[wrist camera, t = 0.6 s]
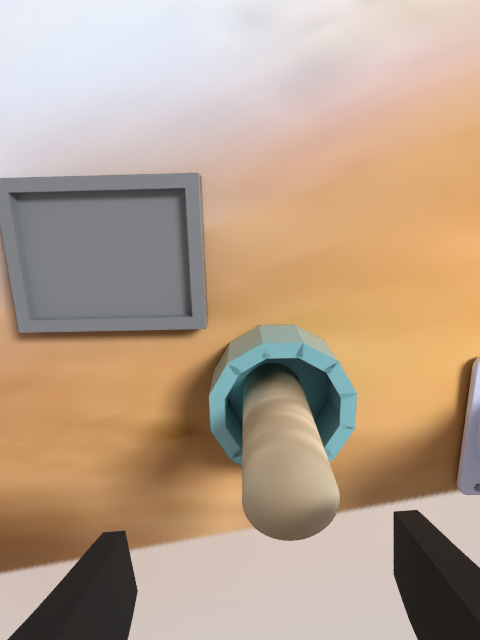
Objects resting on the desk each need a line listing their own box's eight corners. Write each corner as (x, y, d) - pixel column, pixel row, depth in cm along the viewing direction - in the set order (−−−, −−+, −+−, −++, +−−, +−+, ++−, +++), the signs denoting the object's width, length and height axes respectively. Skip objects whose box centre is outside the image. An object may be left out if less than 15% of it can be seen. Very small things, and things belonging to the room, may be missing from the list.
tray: (201, 176, 17) (198, 172, 16) (207, 322, 19) (205, 329, 18) (8, 181, 18) (-8, 178, 16) (32, 326, 19) (18, 332, 18)
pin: (301, 362, 19) (341, 456, 11) (300, 416, 20) (337, 540, 12) (242, 363, 19) (241, 458, 11) (243, 416, 20) (243, 541, 12)
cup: (342, 323, 19) (359, 341, 16) (336, 439, 21) (352, 474, 18) (212, 326, 19) (206, 344, 16) (217, 441, 21) (212, 476, 18)
